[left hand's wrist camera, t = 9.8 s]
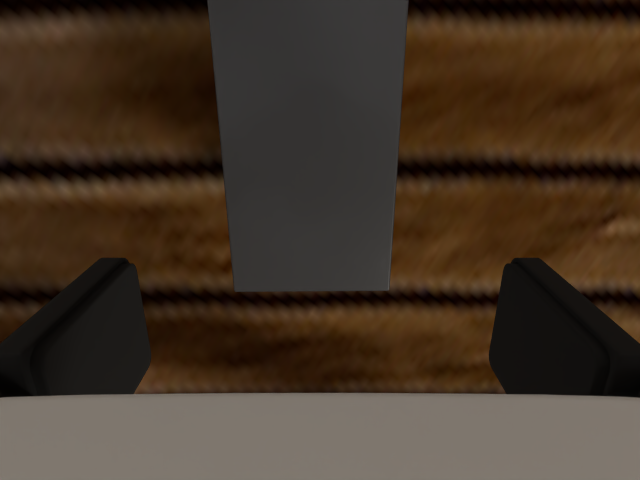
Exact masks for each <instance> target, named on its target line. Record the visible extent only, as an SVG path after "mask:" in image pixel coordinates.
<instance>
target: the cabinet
mask: <svg viewBox="0 0 640 480" xmlns="http://www.w3.org/2000/svg"><path fill="white" fill-rule="evenodd" d="M207 2H208V13H209V24H210V35H211V46H212V56H213V67H214V78H215V89H216V99H217V110H218V121H219V132H220V143H221V153H222V164H223V175H224V186H225V197H226V207H227V218H228V229H229V240H230V251H231V261H232V272H233V283H234V291H235V292H257V291H388V290H389V287H390V272H391V257H392V241H393V226H394V211H395V196H396V181H397V166H398V151H399V136H400V121H401V105H402V90H403V75H404V60H405V45H406V30H407V15H408V0H207Z"/></svg>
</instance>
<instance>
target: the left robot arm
mask: <svg viewBox="0 0 640 480" xmlns="http://www.w3.org/2000/svg"><path fill="white" fill-rule="evenodd" d="M150 361H151V350H150V344H149V339H148V333H147V327H146V321H145V316H144V310H143V304H142V298H141V293H140V287H139V281H138V275H137V270H136V267H135V265H134V264H129V262H128V260H127V259H126V258H101V259H99V260H98V261H97V262H95V263H94V264H93V265H92V266H91V267H89V268H88V269H87V270H86V271H85V272H84V273H82V274H81V275H80V276H79V277H78V278H77V279H75V280H74V281H73V282H72V283H71V284H70V285H68V286H67V287H66V288H65V289H64V290H63V291H61V292H60V293H59V294H58V295H57V296H56V297H54V298H53V299H52V300H51V301H50V302H49V303H47V304H46V305H45V306H44V307H43V308H42V309H40V310H39V311H38V312H37V313H36V314H34V315H33V316H32V317H31V318H30V319H29V320H27V321H26V322H25V323H24V324H23V325H22V326H20V327H19V328H18V329H17V330H16V331H15V332H13V333H12V334H11V335H10V336H9V337H8V338H6V339H5V340H4V341H3V342H2V343H1V344H0V480H640V344H639V343H638V342H637V341H636V340H635V339H634V338H632V337H631V336H630V335H629V334H628V333H627V332H625V331H624V330H623V329H622V328H621V327H620V326H618V325H617V324H616V323H615V322H614V321H613V320H611V319H610V318H609V317H608V316H607V315H606V314H604V313H603V312H602V311H601V310H600V309H598V308H597V307H596V306H595V305H594V304H593V303H591V302H590V301H589V300H588V299H587V298H586V297H584V296H583V295H582V294H581V293H580V292H579V291H577V290H576V289H575V288H574V287H573V286H572V285H570V284H569V283H568V282H567V281H566V280H565V279H563V278H562V277H561V276H560V275H559V274H558V273H556V272H555V271H554V270H553V269H552V268H551V267H549V266H548V265H547V264H546V263H545V262H543V261H542V260H541V259H539V258H514V259H513V260H512V262H511V264H506V265H505V267H504V270H503V275H502V281H501V287H500V293H499V298H498V304H497V310H496V316H495V321H494V327H493V333H492V339H491V344H490V350H489V361H490V365H491V368H492V369H493V371H494V373H495V375H496V376H497V378H498V380H499V382H500V383H501V385H502V387H503V388H504V390H505V392H506V394H424V393H204V394H134V392H135V390H136V388H137V387H138V385H139V383H140V382H141V380H142V378H143V376H144V375H145V373H146V371H147V369H148V368H149V365H150Z"/></svg>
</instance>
